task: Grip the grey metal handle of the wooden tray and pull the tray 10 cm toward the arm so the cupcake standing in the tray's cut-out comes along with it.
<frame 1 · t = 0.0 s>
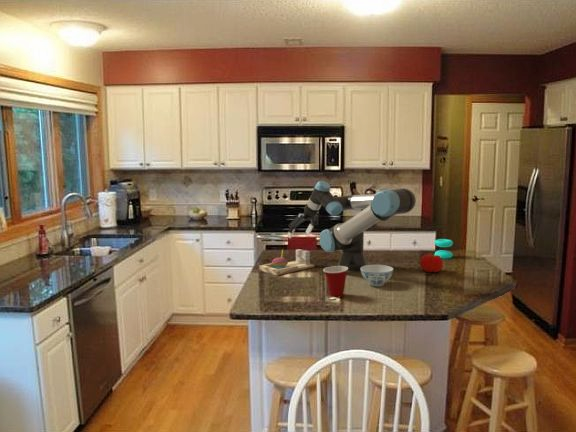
hand: (298, 235, 278), 15 cm above the countertop, tool tilted 35°, fingers open, 13 cm apart
tomato: (431, 272, 253), on the countertop
wooden tray: (287, 261, 263), point 4 cm above the countertop, slide at 0.0 cm
plastic cup: (335, 295, 215), on the countertop
pair of cyan discs: (443, 257, 286), on the countertop
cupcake: (279, 271, 260), resting in wooden tray
chinaware: (376, 284, 231), on the countertop
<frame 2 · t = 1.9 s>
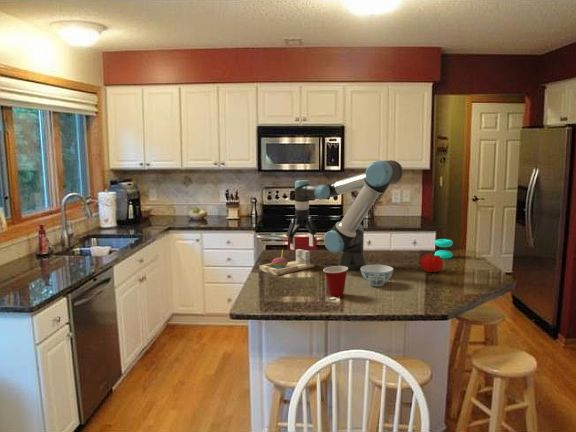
hand: (302, 247, 269), 10 cm above the countertop, tool pointing down, fingers open, 13 cm apart
nothing on the countertop moved.
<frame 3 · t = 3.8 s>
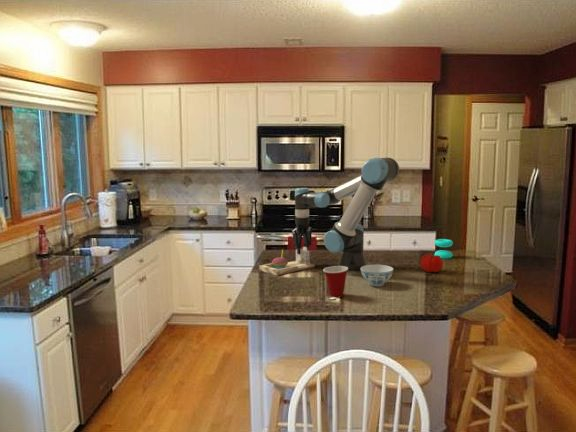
hand: (302, 259, 270), 4 cm above the countertop, tool pointing down, fingers closed on wooden tray, 3 cm apart
wooden tray: (287, 261, 263), point 4 cm above the countertop, slide at 0.0 cm, touching gripper
everything else where it was.
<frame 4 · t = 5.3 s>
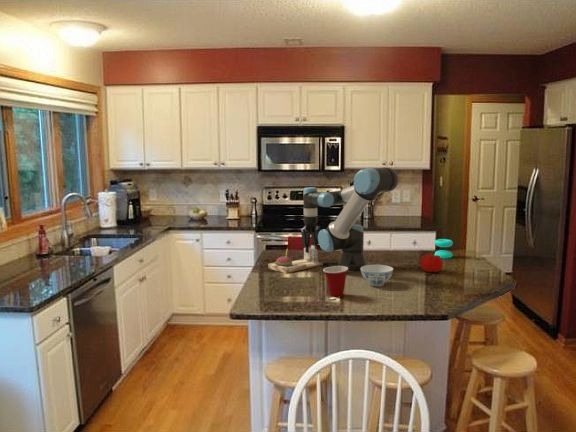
hand: (310, 257, 274), 4 cm above the countertop, tool pointing down, fingers closed on wooden tray, 3 cm apart
wooden tray: (295, 259, 267), point 4 cm above the countertop, slide at 6.0 cm, touching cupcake, gripper
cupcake: (284, 270, 262), resting in wooden tray
everything else where it was.
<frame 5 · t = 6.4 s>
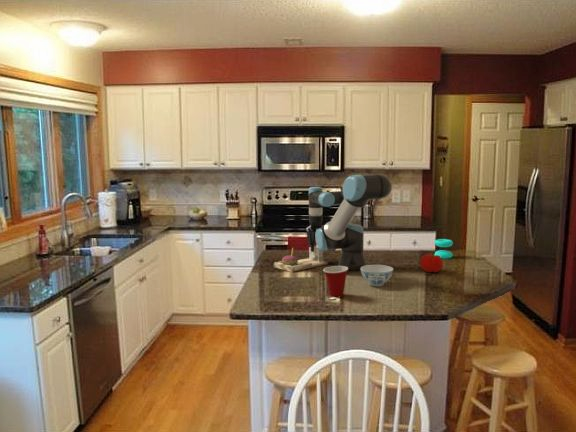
hand: (316, 256, 276), 4 cm above the countertop, tool pointing down, fingers closed on wooden tray, 3 cm apart
wooden tray: (301, 258, 269), point 4 cm above the countertop, slide at 9.9 cm, touching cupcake, gripper
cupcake: (290, 268, 264), resting in wooden tray
everything else where it was.
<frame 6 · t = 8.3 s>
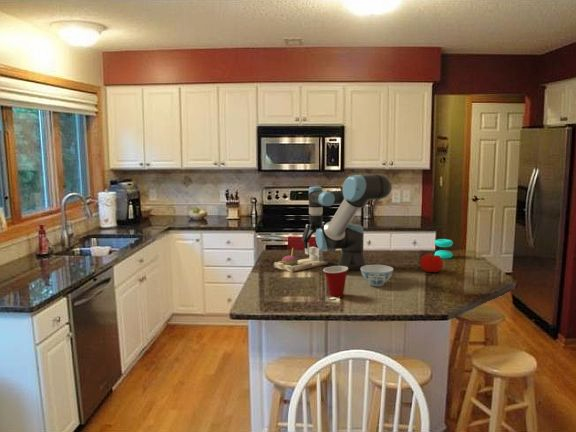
hand: (316, 252, 276), 6 cm above the countertop, tool pointing down, fingers open, 13 cm apart
wooden tray: (301, 258, 269), point 4 cm above the countertop, slide at 9.9 cm
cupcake: (290, 268, 264), resting in wooden tray
everything else where it was.
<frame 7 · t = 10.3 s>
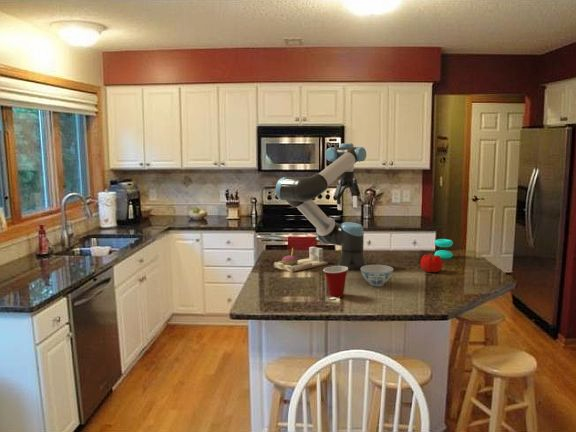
hand: (347, 208, 281), 29 cm above the countertop, tool pointing down, fingers open, 13 cm apart
nothing on the countertop moved.
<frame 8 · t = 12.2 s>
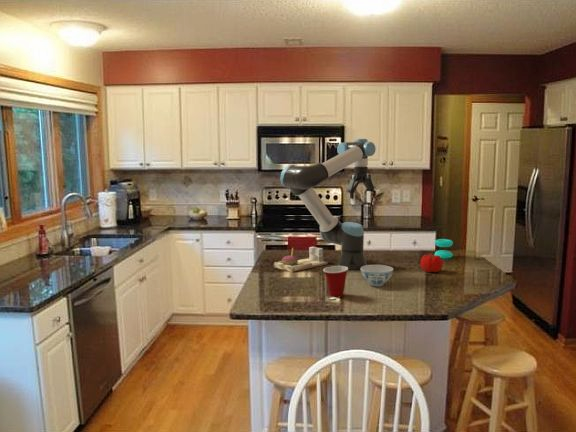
hand: (360, 203, 284), 32 cm above the countertop, tool pointing down, fingers open, 13 cm apart
nothing on the countertop moved.
at the end: wooden tray slide at 9.9 cm; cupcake inside the target area (3.2 cm from its centre), resting in wooden tray; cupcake tilted 0° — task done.
